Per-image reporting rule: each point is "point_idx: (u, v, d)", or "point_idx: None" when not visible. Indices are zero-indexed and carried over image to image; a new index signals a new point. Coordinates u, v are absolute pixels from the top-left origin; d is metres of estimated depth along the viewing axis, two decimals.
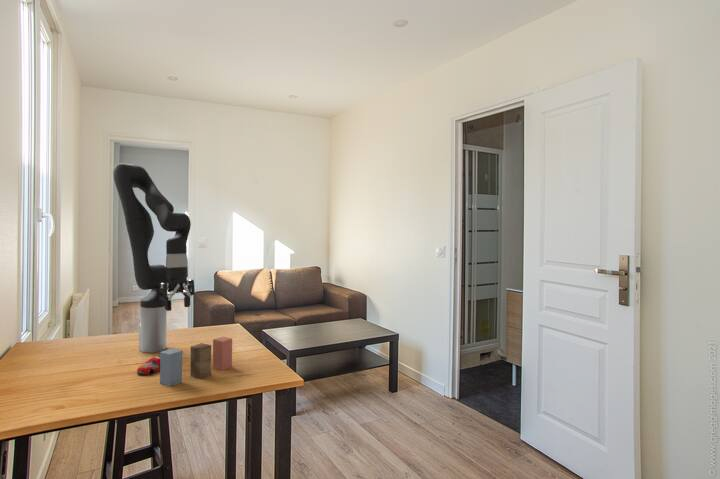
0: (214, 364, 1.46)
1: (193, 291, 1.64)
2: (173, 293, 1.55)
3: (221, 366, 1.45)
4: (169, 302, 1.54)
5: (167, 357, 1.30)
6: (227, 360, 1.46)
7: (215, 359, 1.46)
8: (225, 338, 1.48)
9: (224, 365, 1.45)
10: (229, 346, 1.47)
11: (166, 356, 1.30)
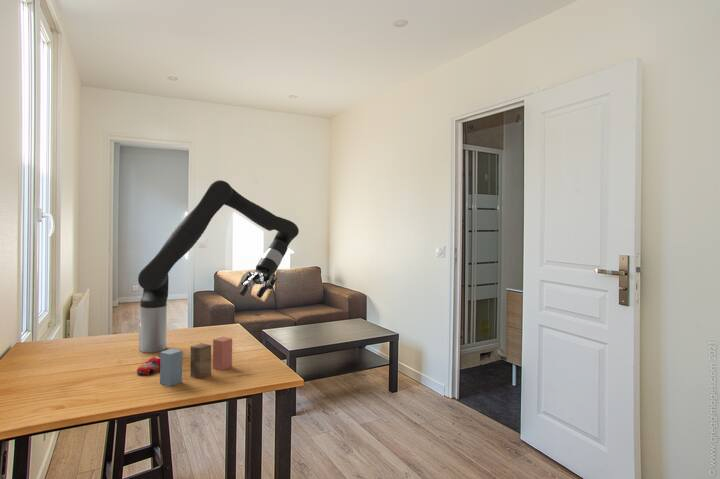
0: (214, 364, 1.46)
1: None
2: None
3: (221, 366, 1.45)
4: None
5: (167, 357, 1.30)
6: (227, 360, 1.46)
7: (215, 359, 1.46)
8: (225, 338, 1.48)
9: (224, 365, 1.45)
10: (229, 346, 1.47)
11: (166, 356, 1.30)
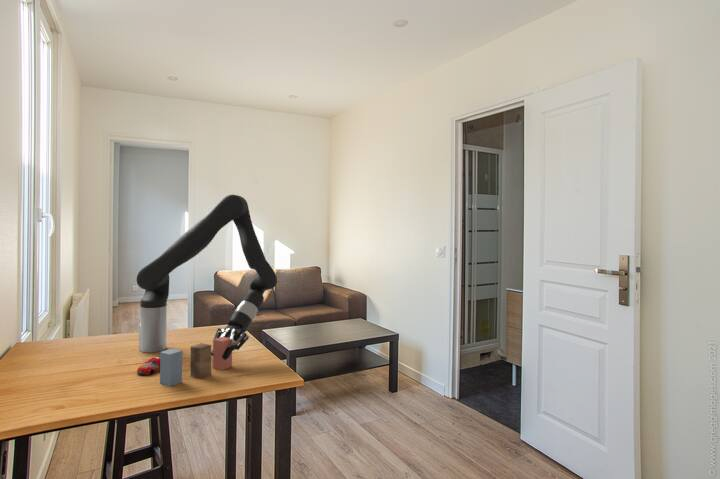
0: (214, 364, 1.46)
1: None
2: None
3: (221, 366, 1.45)
4: None
5: (167, 357, 1.30)
6: (227, 360, 1.46)
7: (215, 359, 1.46)
8: (225, 338, 1.48)
9: (224, 365, 1.45)
10: None
11: (166, 356, 1.30)
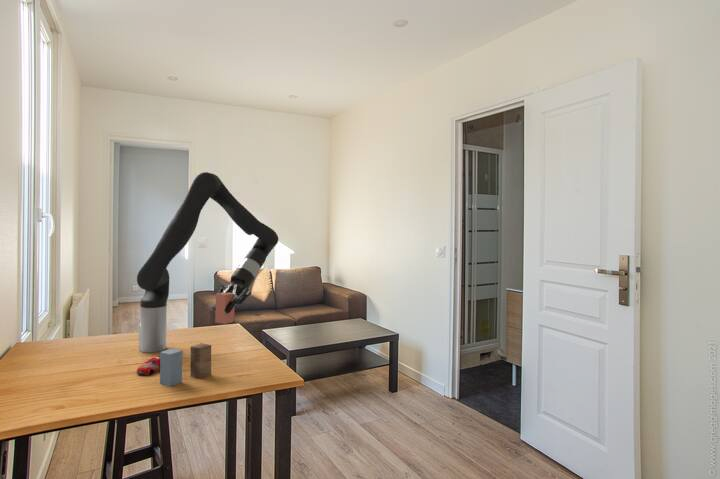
0: (216, 318, 1.47)
1: None
2: None
3: (223, 319, 1.45)
4: (232, 306, 1.47)
5: (167, 357, 1.30)
6: (229, 315, 1.47)
7: (217, 313, 1.47)
8: (227, 293, 1.49)
9: (227, 319, 1.46)
10: None
11: (166, 356, 1.30)
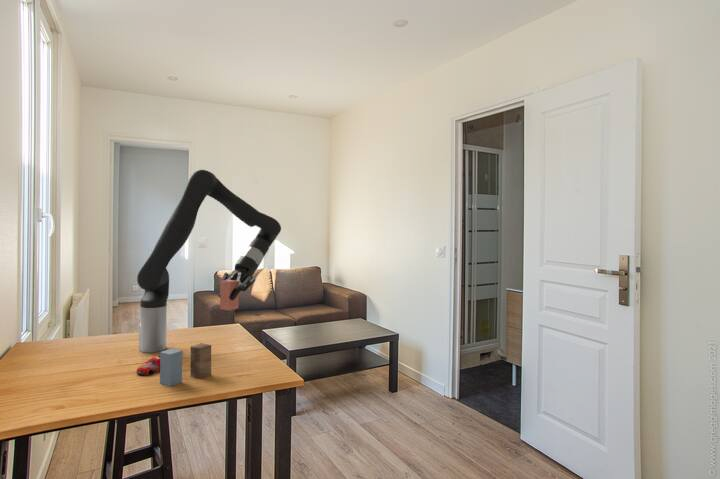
0: (221, 305, 1.49)
1: None
2: None
3: (228, 306, 1.48)
4: None
5: (167, 357, 1.30)
6: (234, 301, 1.50)
7: (222, 300, 1.49)
8: (232, 280, 1.51)
9: (231, 306, 1.49)
10: None
11: (166, 356, 1.30)
